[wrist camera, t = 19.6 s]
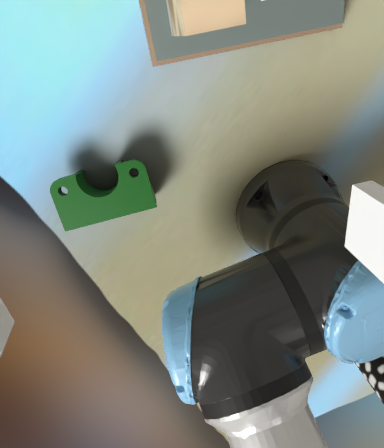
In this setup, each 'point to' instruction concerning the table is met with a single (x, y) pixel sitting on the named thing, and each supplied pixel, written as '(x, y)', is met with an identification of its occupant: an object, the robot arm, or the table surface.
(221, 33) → the slate board
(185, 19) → the wooden block
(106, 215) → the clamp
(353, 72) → the table surface
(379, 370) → the white-spotted black cylinder
